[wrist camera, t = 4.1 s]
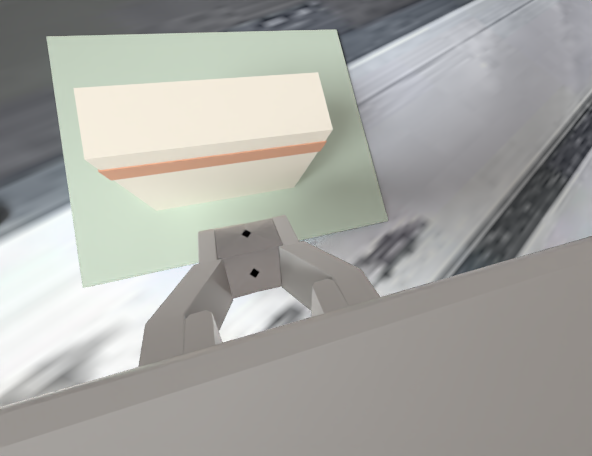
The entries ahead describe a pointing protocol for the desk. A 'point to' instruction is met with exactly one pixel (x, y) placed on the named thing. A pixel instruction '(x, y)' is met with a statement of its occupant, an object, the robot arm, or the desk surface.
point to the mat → (193, 218)
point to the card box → (204, 135)
